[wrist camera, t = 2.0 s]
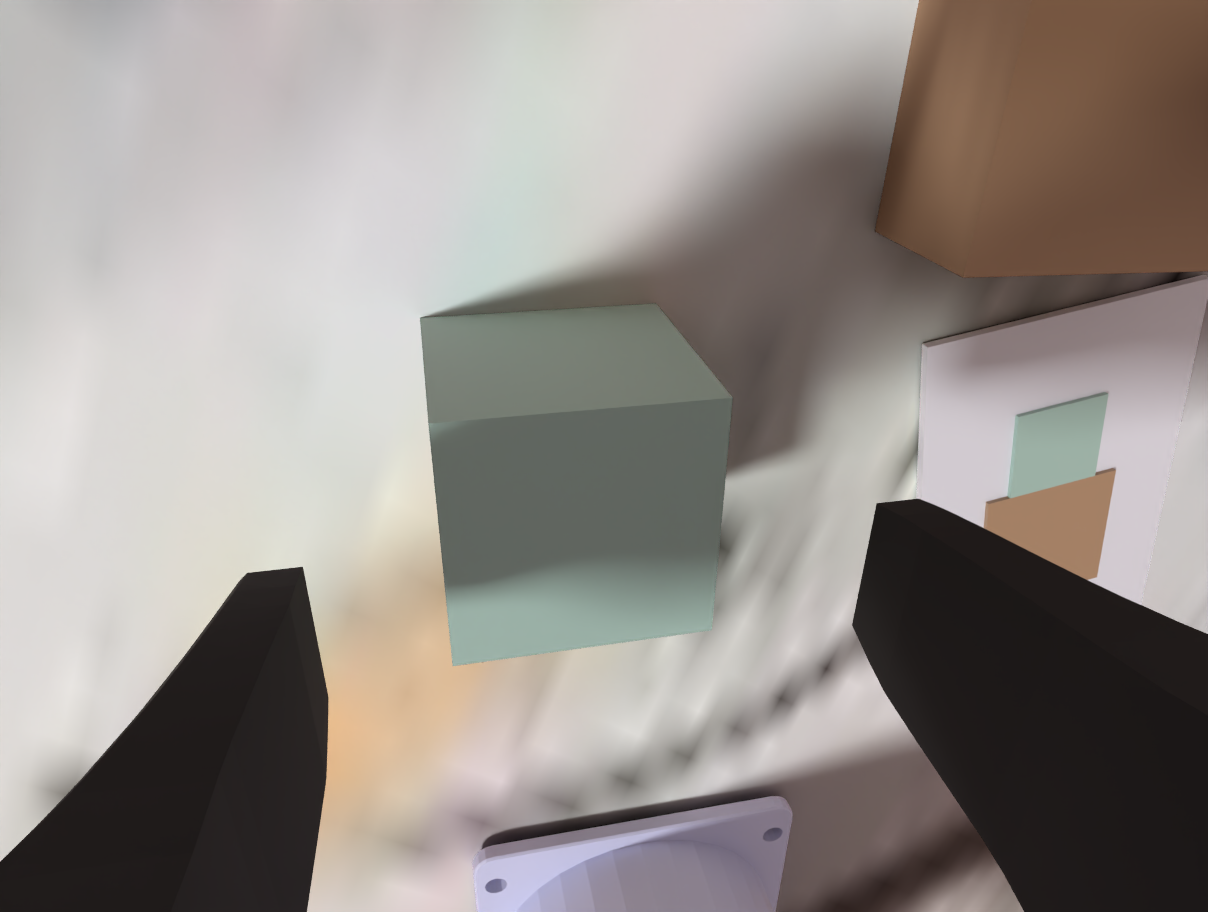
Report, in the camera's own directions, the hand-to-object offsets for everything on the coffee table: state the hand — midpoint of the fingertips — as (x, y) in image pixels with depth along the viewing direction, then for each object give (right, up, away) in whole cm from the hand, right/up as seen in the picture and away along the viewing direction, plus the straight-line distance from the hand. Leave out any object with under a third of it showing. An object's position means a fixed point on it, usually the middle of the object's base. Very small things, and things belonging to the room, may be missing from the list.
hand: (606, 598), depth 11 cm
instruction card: (+10, +1, +8) cm, 13 cm away
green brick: (-1, +3, +5) cm, 5 cm away
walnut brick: (+8, +9, +4) cm, 12 cm away
